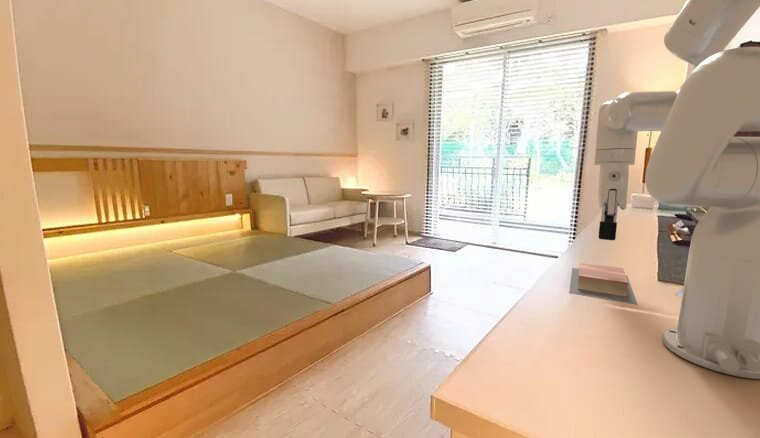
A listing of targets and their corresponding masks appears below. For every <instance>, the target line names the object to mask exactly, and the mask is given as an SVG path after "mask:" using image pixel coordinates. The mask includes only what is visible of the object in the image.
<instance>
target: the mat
mask: <svg viewBox="0 0 760 438" xmlns="http://www.w3.org/2000/svg"><path fill="white" fill-rule="evenodd" d="M578 274H579V267H578V268H577V267H576V268H575V267H572V268H571V276H570V283H569V291H568V294H572V295H577V296H585V297H589V298H597V299H601V300H602V299H603V300H607V301H615V302H620V303H627V304H632V305H639V304H638V301H637V299H636V296H635V293H634V290H633V288H632V285H631V282H630V279H629V277H628V275H627V274H625V275H626V278H627V280H628V290H627V297H626V296H620V295H614V294H608V293H601V292H595V291H589V290H583V289H578Z"/></svg>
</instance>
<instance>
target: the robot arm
mask: <svg viewBox="0 0 760 438" xmlns="http://www.w3.org/2000/svg"><path fill="white" fill-rule="evenodd" d="M759 8H760V0H687V1H685V3H684V5H683V7H682V8H681V10H680V11H679V13H678V14H677V16H676V17H675V19H674V20H673V22H672V23H671V24H670V26H669V27H668V29H667V31H666V32H665V34H664V36H663V37H664V38H663V43H664V46H665V48H666V49H667V50H668V52H670V54H672V55H674V56H675V57H676V58H678V59H680V60H682V61H684V62H685V63H688V64H690V65H692V66H693V69H692V71H691V73H690V74H689V75H688V76H687V78H686V79H685V81H684V82H683V83H682V85H681V86H680V87H679V88H678V90H676V91H673V90H668V91H666V90H665V91H664V90H663V91H660V90H659V91H629V92H624V93H622V94H621V93H620V95H618V96H616V97H615V98H614V99H613V100H609V101H606V102H604V103H602V104H601V105H600V107H599V109H598V115H597V116H598V119H597V126H596V127H597V129H596V138H595V149H594V150H595V152H594V162H593V163H594V164H593V165H594V166H599V177H598V192H597V193H598V206H599V208H600V209H601V216H600V217H601V219H600V221H599V227H598V239H599V240H603V241H615V240H616V238H617V237H616V236H617V228H618V227H617V226H618V222H617V217H618V208H619V209H621V210H622V211H625V210H627V204H628V188H629V172H630V170H629V167H630V166H631V165H632V166H634V165H635V162H636V155H637V154H636V151H637V143H638V132H660V134H659V136H658V138H657V140H656V143H655V145H654V148H653V150H652V152H651V154H650V157H649V160H648V163H647V166H646V170H645V178H644V180H645V186H646V190H647V193H648V194H649V195H650V197H651V198H652V199H653V200H655V201H656V202H658V203H660V204H661V205H662V204H663V205H667V206H672V207H682V208H683V207H684V208H685V207H688V208H708V209H707V211H706V212H705V214H704V215H703V216H701V219H700V220H699V221H698V223H696V226H695V227H694V230H693V232H692V234H691V239H690V246H689V250H688V257H687V263H686V268H685V269H686V270H685V278H684V281H683V283H684V284H683V287H684V289H683V295H682V297H681V302H680V309H679V317H678V322H677V327H675V328H670V329H667V330H665V331H664V332H663V335H662V342H663V344H664V345H665V347H666V348H667V349H668V350H670V352H672V353H674V354H676V355H677V356H679V357H680V358H683V359H685V360H686V361H689V362H691V363H693V364H696V365H697V366H700V367H702V368H706V369H709V370H711V371H715V372H718V373H722V374H726V375H730V376H735V377H738V378H739V377H740V378H744V379H754V380H755V379H756V380H760V136H735V135H736V134H737V132H760V46H741V47H735V48H729V49H726V48H727V46H729V44H730V43H731V42H732V40H733V39H734V38H735V37H736V36H737V34H738V33H739V32H740V31H741V29H743V27H745V25H746V23H748V21H749V20H750V19H751V18H752V16H753V15H754V14H755V13H756V12H757V10H758V9H759Z"/></svg>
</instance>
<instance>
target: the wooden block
mask: <svg viewBox="0 0 760 438" xmlns="http://www.w3.org/2000/svg"><path fill="white" fill-rule="evenodd" d="M578 269H579V274H578V289H583V290H589V291H595V292H601V293H608V294H614V295H620V296H626V297H627V290H628V280H627V278H626V275H627V274H626V273H625V270H624V268H623V267H618V266H610V265H609V266H608V265H602V264H594V263H588V262H587V263H586V262H579V266H578Z"/></svg>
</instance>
